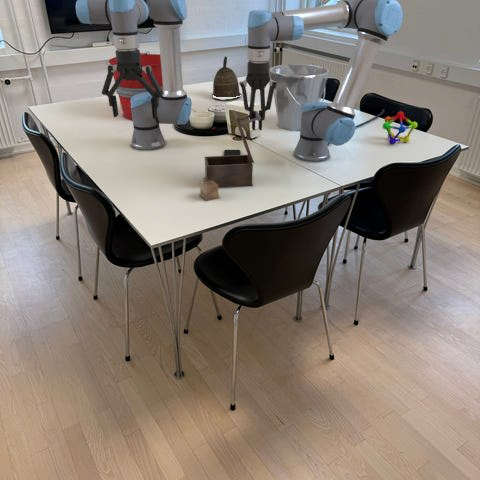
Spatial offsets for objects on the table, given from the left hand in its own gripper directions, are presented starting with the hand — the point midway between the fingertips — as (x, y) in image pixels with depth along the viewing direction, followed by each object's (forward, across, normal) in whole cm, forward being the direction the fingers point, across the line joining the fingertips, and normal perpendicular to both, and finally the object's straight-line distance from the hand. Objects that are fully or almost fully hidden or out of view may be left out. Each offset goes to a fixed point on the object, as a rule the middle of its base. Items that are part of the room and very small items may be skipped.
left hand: (135, 116), depth 150 cm
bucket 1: (+28, -29, +97) cm, 105 cm away
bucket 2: (+28, +55, +88) cm, 107 cm away
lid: (+10, +35, +14) cm, 39 cm away
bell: (+28, +10, +140) cm, 143 cm away
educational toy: (+28, +102, +67) cm, 125 cm away
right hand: (+8, +40, +16) cm, 44 cm away
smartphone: (+28, +28, +38) cm, 55 cm away
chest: (+28, +30, +13) cm, 43 cm away
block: (+28, +25, -1) cm, 37 cm away
